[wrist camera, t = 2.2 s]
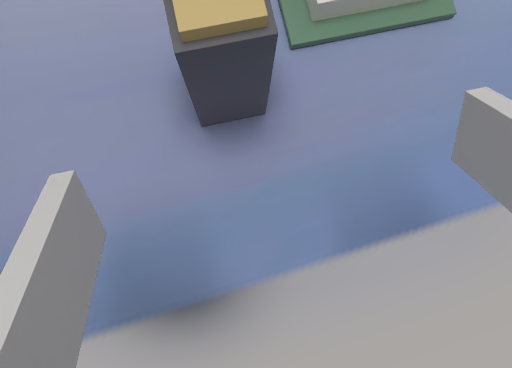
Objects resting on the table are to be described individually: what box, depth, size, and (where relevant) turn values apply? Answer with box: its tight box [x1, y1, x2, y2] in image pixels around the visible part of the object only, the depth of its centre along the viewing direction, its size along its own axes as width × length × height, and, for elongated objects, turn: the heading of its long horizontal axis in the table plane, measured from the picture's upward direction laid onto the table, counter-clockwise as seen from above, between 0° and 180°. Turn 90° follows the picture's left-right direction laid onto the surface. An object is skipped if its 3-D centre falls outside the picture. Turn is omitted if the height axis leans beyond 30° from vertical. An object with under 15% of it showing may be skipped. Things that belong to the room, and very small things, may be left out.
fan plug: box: [164, 0, 278, 127], centre depth 21 cm, size 4×5×11 cm
